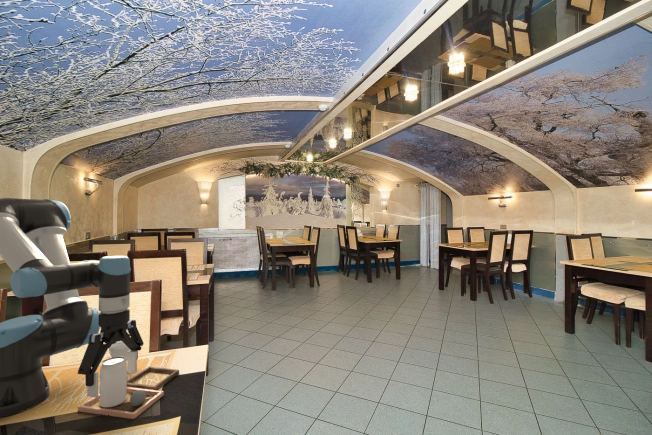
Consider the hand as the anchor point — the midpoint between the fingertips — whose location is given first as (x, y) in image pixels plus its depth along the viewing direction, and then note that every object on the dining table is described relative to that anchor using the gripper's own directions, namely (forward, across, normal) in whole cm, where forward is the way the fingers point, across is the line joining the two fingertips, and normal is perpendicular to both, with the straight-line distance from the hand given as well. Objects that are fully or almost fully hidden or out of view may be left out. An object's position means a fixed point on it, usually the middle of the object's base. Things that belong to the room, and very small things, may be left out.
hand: (113, 383), depth 92 cm
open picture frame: (+5, 0, -3) cm, 6 cm away
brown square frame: (+5, +13, -2) cm, 14 cm away
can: (+5, 0, 0) cm, 5 cm away
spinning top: (+5, +18, +14) cm, 23 cm away
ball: (+5, 0, -8) cm, 10 cm away
